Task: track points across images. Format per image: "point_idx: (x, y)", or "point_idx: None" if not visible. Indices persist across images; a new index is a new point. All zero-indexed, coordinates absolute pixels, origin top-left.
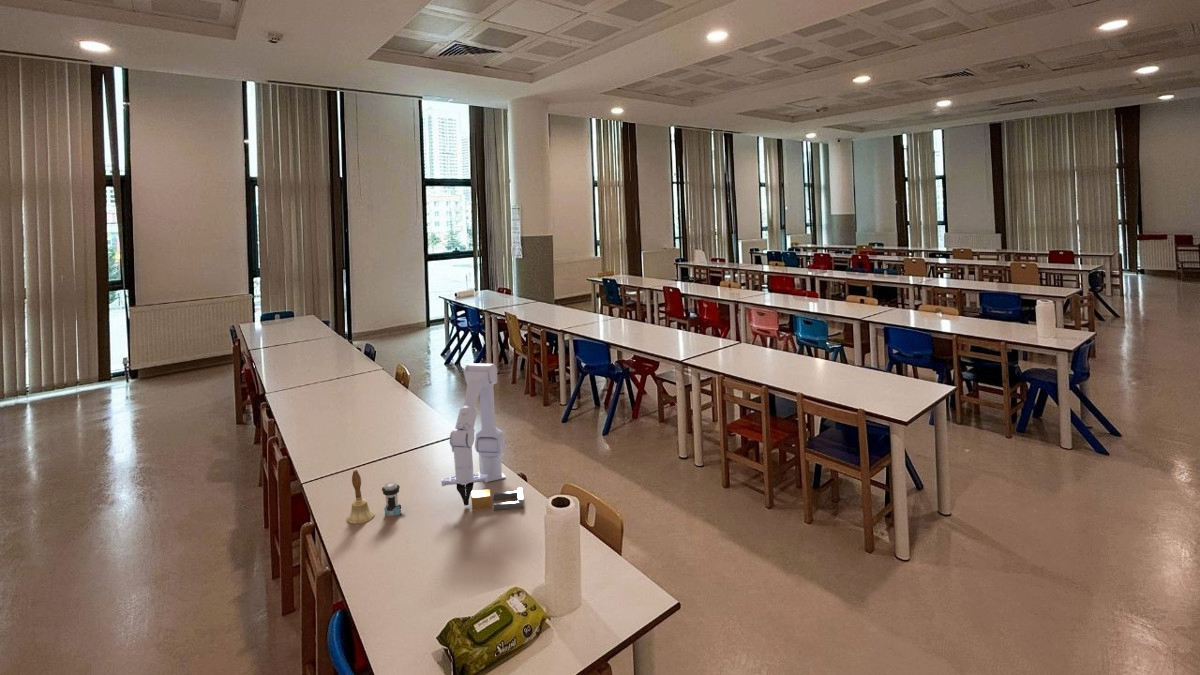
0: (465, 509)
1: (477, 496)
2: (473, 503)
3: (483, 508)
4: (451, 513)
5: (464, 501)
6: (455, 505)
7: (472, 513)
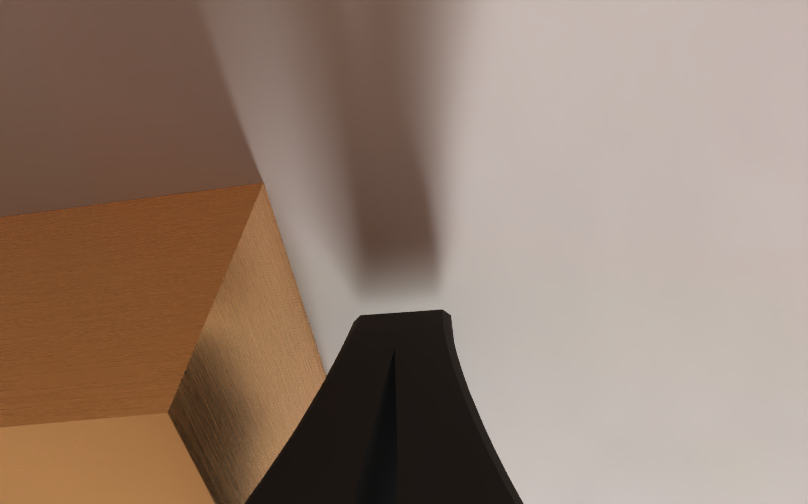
0: (420, 233)
1: (7, 463)
2: (177, 286)
3: (26, 219)
4: (735, 86)
5: (430, 370)
6: (637, 386)
7: (209, 39)
